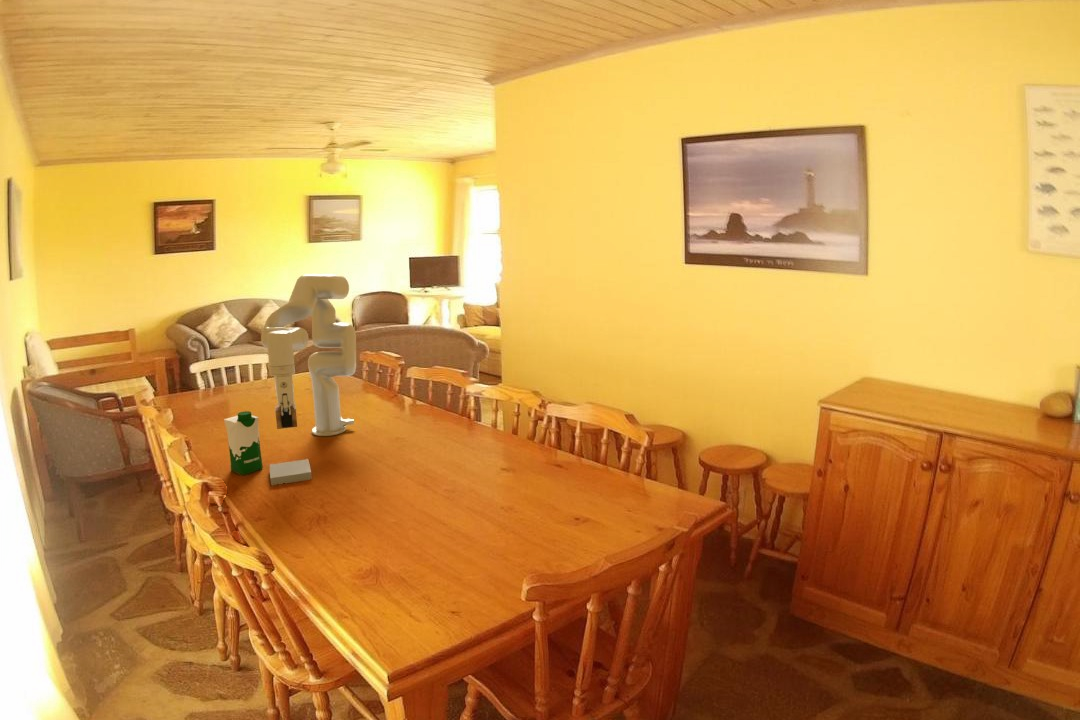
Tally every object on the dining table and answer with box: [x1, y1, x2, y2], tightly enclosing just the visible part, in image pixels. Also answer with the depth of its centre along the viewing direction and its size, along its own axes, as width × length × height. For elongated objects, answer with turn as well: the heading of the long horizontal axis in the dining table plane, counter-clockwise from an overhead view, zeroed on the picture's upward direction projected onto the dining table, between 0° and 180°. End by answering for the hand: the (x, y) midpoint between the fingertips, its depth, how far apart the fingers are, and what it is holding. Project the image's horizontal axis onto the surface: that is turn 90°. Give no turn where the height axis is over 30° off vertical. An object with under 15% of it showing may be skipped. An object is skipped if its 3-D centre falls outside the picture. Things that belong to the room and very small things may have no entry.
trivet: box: [269, 458, 313, 486], centre depth 205 cm, size 12×12×2 cm
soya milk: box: [223, 410, 264, 476], centre depth 208 cm, size 9×9×20 cm
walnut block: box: [275, 404, 298, 430], centre depth 205 cm, size 6×6×6 cm
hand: (286, 423), depth 205 cm, fingers closed on walnut block, 6 cm apart
